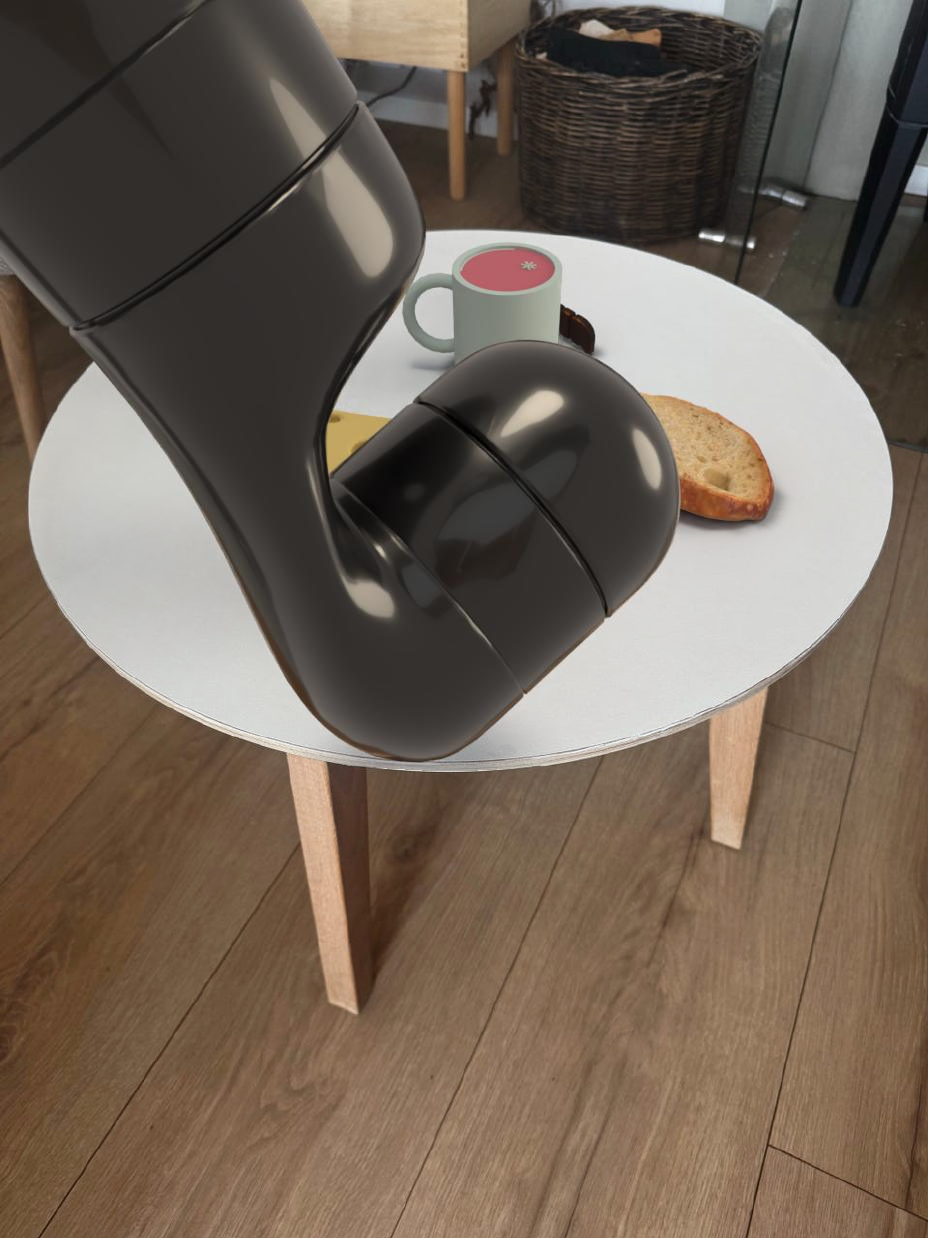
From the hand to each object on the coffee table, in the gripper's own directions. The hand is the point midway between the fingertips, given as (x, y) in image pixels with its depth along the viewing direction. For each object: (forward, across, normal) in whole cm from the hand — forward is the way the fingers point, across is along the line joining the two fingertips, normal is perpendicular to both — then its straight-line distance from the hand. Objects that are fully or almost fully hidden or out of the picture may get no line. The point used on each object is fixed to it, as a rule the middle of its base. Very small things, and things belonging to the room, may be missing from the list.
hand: (387, 586), depth 57 cm
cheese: (+15, -1, -2) cm, 15 cm away
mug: (+32, -13, -18) cm, 39 cm away
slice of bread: (+20, -23, -7) cm, 32 cm away
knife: (+37, -20, -24) cm, 49 cm away
